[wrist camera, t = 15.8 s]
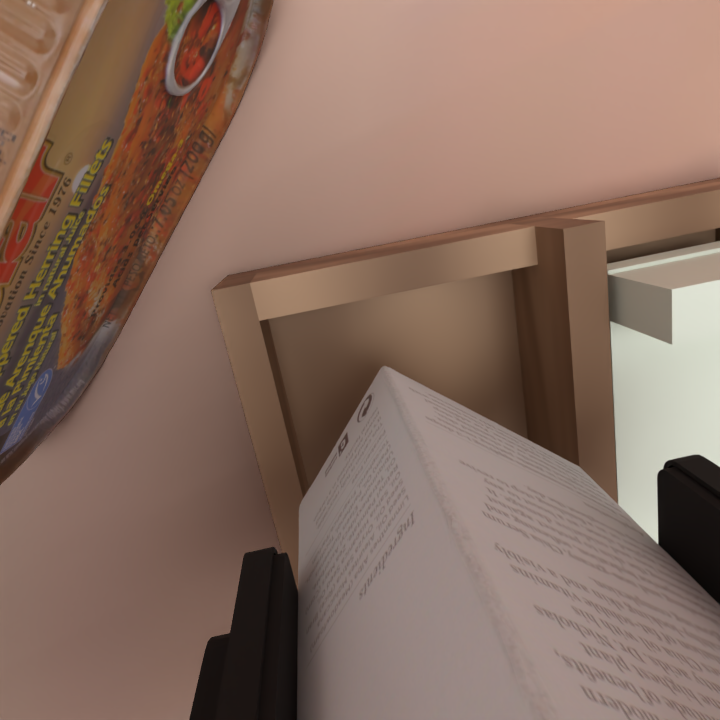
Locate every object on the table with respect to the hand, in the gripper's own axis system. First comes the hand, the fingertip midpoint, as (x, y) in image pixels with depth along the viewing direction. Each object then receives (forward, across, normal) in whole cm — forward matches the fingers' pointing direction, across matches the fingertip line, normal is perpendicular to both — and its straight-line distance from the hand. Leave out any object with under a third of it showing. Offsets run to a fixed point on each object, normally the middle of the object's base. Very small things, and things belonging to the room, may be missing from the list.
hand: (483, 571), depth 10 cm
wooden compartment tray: (+8, -3, 0) cm, 9 cm away
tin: (+9, +7, -8) cm, 14 cm away
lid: (+5, -8, 0) cm, 9 cm away
